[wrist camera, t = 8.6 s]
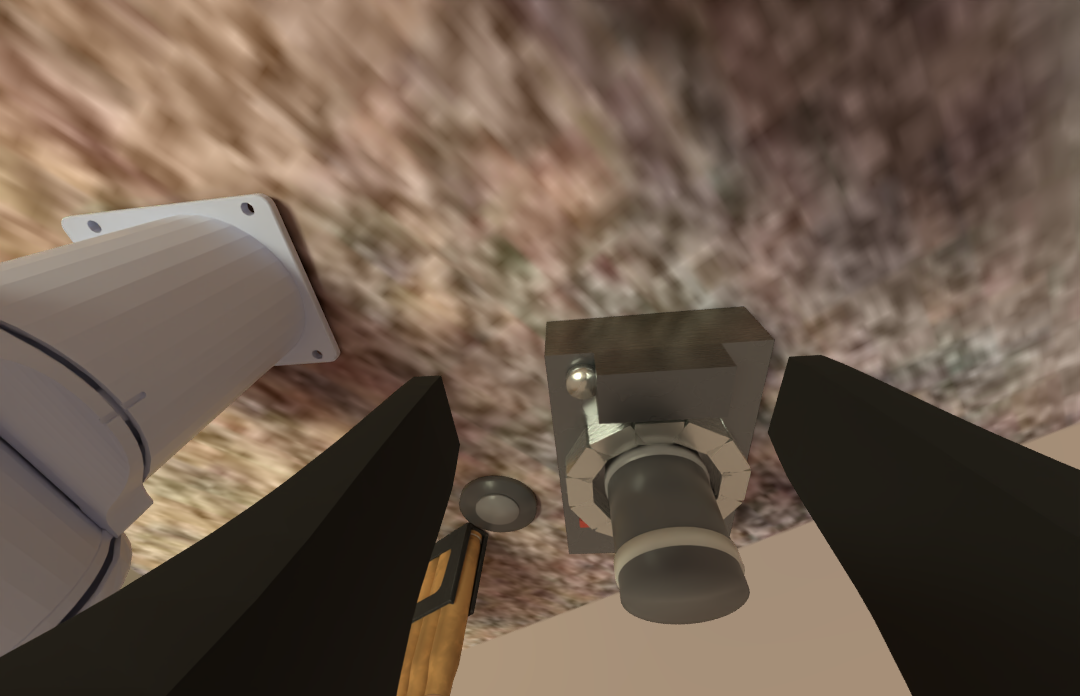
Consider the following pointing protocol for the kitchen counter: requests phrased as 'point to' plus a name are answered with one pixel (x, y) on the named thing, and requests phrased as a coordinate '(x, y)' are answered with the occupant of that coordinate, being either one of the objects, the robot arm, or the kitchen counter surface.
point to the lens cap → (498, 504)
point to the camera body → (652, 402)
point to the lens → (671, 537)
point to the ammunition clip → (443, 613)
